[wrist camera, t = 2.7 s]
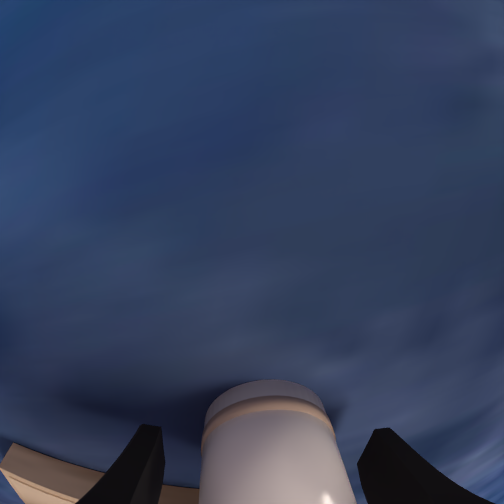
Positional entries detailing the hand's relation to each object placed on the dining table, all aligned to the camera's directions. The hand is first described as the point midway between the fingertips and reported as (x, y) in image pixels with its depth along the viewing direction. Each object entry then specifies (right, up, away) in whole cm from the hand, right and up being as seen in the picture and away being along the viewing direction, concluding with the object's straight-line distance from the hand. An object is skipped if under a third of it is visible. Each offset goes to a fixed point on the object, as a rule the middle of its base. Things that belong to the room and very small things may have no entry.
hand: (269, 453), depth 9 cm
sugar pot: (0, 0, +1) cm, 2 cm away
